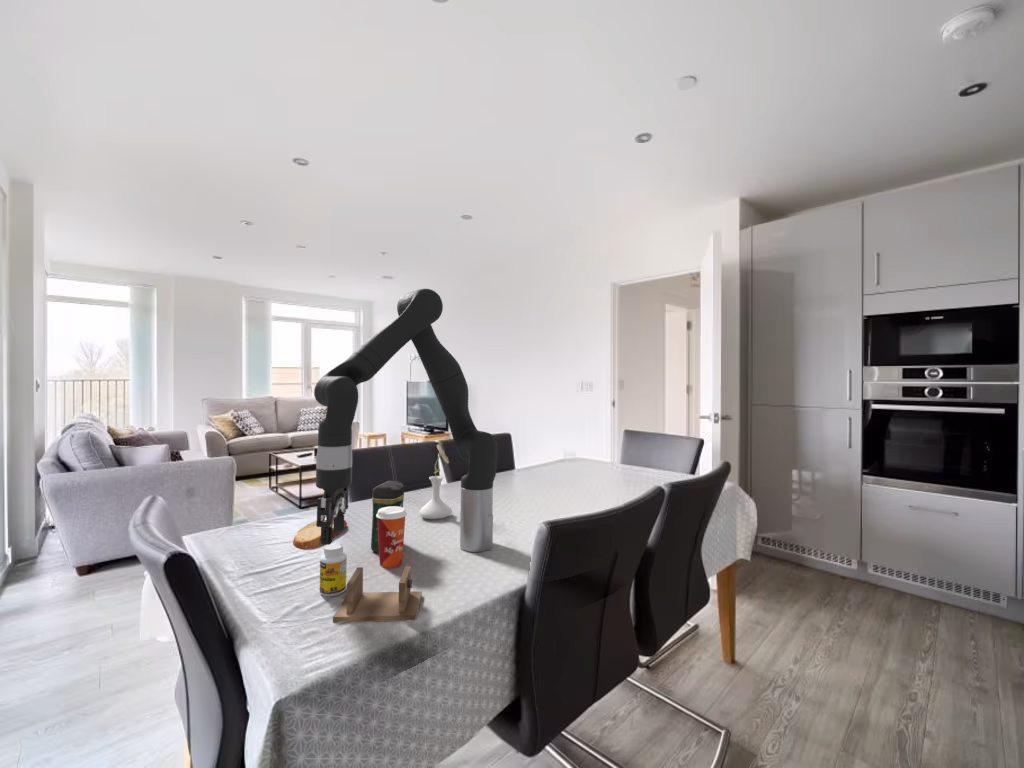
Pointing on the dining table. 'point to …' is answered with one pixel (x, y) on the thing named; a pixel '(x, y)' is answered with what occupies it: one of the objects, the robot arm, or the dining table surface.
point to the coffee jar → (384, 504)
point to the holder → (378, 601)
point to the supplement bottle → (333, 570)
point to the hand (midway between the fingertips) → (332, 537)
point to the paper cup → (391, 535)
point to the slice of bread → (311, 536)
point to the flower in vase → (436, 496)
